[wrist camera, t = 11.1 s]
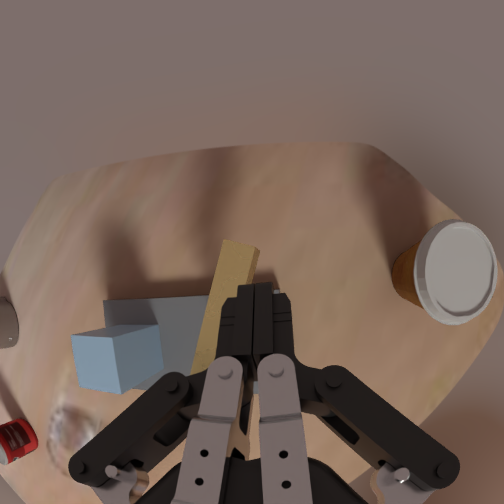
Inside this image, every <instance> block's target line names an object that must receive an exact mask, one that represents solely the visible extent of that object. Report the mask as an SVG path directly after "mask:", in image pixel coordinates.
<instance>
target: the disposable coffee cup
mask: <svg viewBox="0 0 504 504" xmlns="http://www.w3.org/2000/svg"><path fill="white" fill-rule="evenodd" d="M392 282H393V285H394V288H395V290H396V292H397V293H398V294H399V295H400V296H401V297H402V298H404V299H406V300H408V301H410V302H412V303H413V304H415V305H417V306H419V307H421V308H423V309H425V310H426V312H427V313H428V314H429V315H430V316H431V317H432V318H434V319H436V320H437V321H439V322H440V323H443V324H447V325H459V324H462V323H466V322H467V321H469V320H471V319H472V318H474V317H476V316H478V315H479V314H480V313H481V312H482V311H483V310H484V309H485V308H486V306H487V305H488V304H489V302H490V300H491V298H492V295H493V293H494V290H495V287H496V282H497V261H496V256H495V253H494V250H493V247H492V245H491V243H490V241H489V240H488V238H487V237H486V236H485V234H484V233H483V232H482V231H481V230H480V229H478V228H477V227H476V226H474V225H472V224H469V223H467V222H464V221H461V220H455V219H450V220H445V221H442V222H440V223H438V224H437V225H435V226H434V227H432V228H431V229H430V230H429V231H428V232H427V234H426V235H425V236H424V237H423V239H422V240H421V241H419V242H418V243H417V244H415V245H414V246H412V247H411V248H410V249H408V250H407V251H405V252H404V253H402V254H401V255H400V256H399V257H398V258H397V260H396V261H395V263H394V266H393V270H392Z"/></svg>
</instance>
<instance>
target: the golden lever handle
mask: <svg viewBox="0 0 504 504" xmlns="http://www.w3.org/2000/svg"><path fill="white" fill-rule="evenodd" d="M259 253H260V250H258V249H257V248H256V247H254V246H250V245H246V244H242V243H238V242H234V241H230V240H226V239H224V241H223V244H222V248H221V252H220V256H219V259H218V263H217V267H216V271H215V275H214V279H213V282H212V286H211V290H210V294H209V298H208V302H207V306H206V310H205V314H204V318H203V322H202V326H201V330H200V335H199V339H198V343H197V347H196V351H195V356H194V360H193V364H192V368H191V373H190V375H193V374H196V373H199V372H202V371H204V370H206V369H207V368H208V367H209V365H210V364H211V363H212V362H213V361H214V359H215V355H216V348H217V340H218V332H219V327H220V326H219V324H220V319H221V317H220V316H221V308H222V306H223V304H224V302H225V301H226V299H227V298H230V297H237V288H238V285H244V284H252V280H253V276H254V272H255V269H256V265H257V261H258V257H259Z"/></svg>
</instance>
